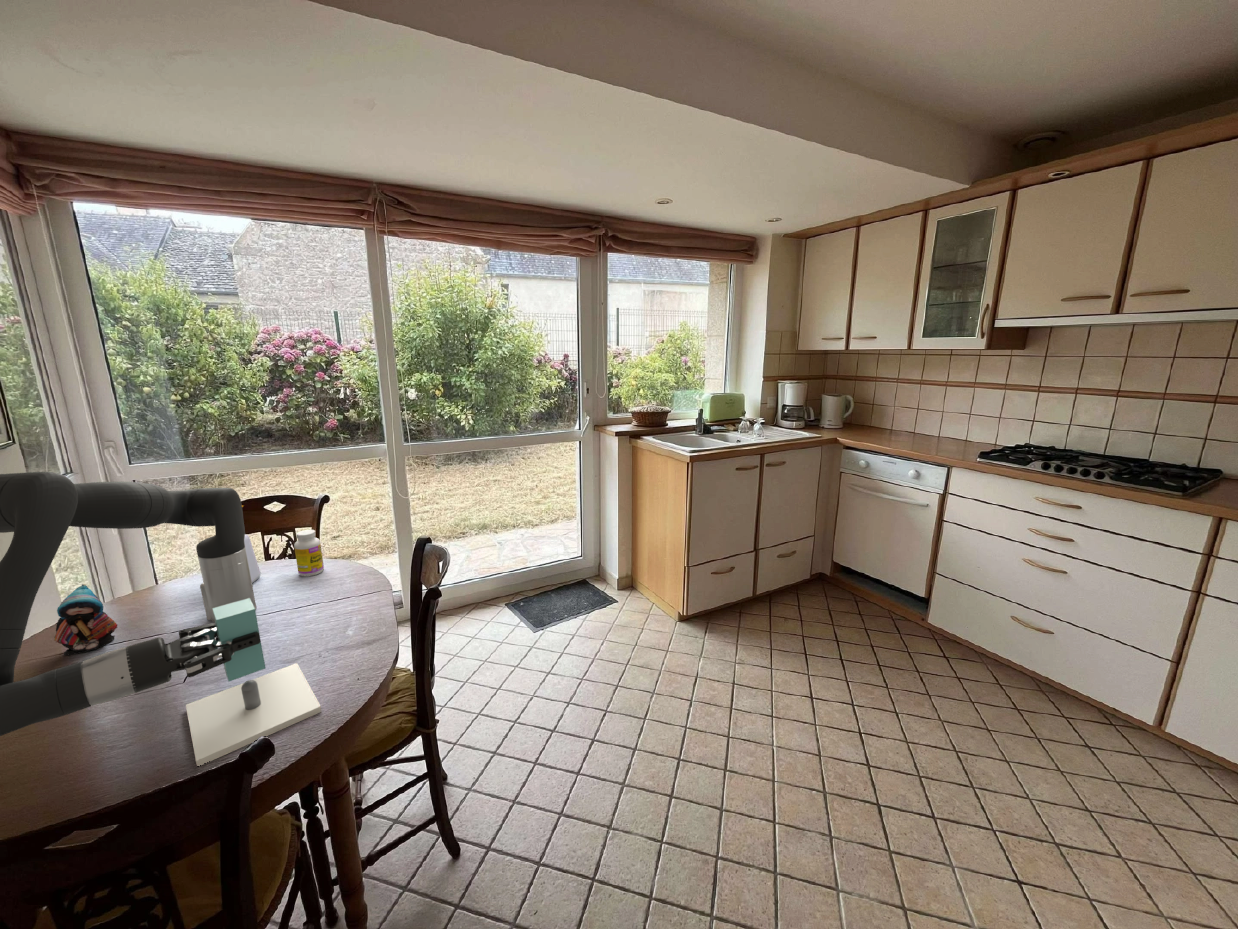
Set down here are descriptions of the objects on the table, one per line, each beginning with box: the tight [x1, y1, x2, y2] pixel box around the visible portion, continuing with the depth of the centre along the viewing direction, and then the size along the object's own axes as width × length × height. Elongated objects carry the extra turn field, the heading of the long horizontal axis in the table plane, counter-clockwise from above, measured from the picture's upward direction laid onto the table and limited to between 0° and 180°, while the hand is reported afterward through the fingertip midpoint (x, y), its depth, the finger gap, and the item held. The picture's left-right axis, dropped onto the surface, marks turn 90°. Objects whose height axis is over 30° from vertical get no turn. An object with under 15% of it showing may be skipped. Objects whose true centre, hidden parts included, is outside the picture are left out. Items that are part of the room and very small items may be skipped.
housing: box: [212, 598, 266, 682], centre depth 89 cm, size 5×5×12 cm
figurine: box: [53, 583, 118, 656], centre depth 110 cm, size 10×7×15 cm
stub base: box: [185, 662, 323, 767], centre depth 92 cm, size 18×18×6 cm
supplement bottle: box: [293, 529, 325, 577], centre depth 148 cm, size 7×7×13 cm
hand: (255, 630), depth 91 cm, fingers closed on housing, 5 cm apart
